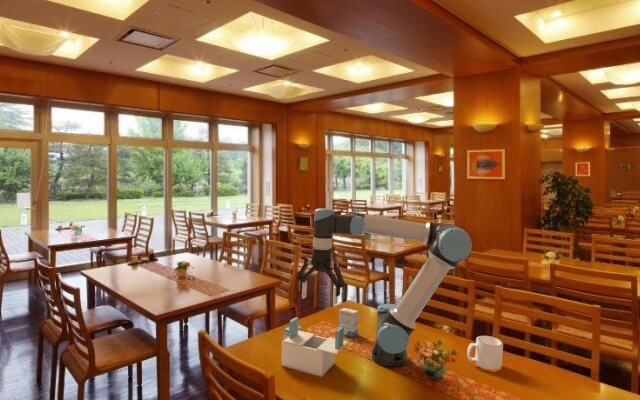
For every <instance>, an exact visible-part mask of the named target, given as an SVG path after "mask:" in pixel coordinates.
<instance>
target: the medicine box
mask: <svg viewBox="0 0 640 400" xmlns="http://www.w3.org/2000/svg"><path fill="white" fill-rule="evenodd" d="M298 330H299V331H303V326H301V325H299V324H298ZM288 337H289V326H287V327H286V328H283V340H282V342H283V341H284V340H285V339H286V338H288Z"/></svg>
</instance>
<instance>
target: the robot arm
mask: <svg viewBox="0 0 640 400" xmlns="http://www.w3.org/2000/svg"><path fill="white" fill-rule="evenodd" d="M334 211H335V210H334V209H332V208H326V207H325V208H322V207H321V208H320V207H319V208H316V209H315V210H314V217H313V233H312V234H313V235H312V236H313V237H312V247H313V248H312V252H311V253H312V254H311V257H312V258H310V257H309V256H308V257H305V258H304V261H303V264H302V266H301V268H300V269H299V272H298V274H297V276H296V280H298V281H299V282H300V286H299V287H300V290H301V299H302V300H304V299H305V298H307V294H308V293H307V290H308V280H307V279H308V278H309V277H310V276H311V275H313V274H312V273H314V272H315V271H316V272H320V273H325V274H326V275H327V276H328V277H329V279H330V280H331V282H332V284H333V285H334V286H335V287H333V297H332V298H333V300H332V301H333V302H332V305H334V306H336V305H337V304H338V300H339V297H340V295H341V290H342V288H344V287H345V286H346V282H345V280H344V277H343V274H342V272H341V269H340V265H339V264H340V263H339V261H332V252H333V251H332V247H333V234H334V235H337V234H338V235H346V236H353V237H354V236H363V234H364V233H366V234H373V235H378V236H384V237H390V238H396V239H397V238H398V239H403V240H409V241H414V242H419V243H423V244H424V245H425V246H430V247H429V248H428V250H427V253H428V258H427V259H426V261H425V262H424V263H423V265H422V266H421V268H420V270H419V271H418V273H417V274H416V276H415V277H414V279H413V280H412V282H411V283H410V285H409V286H408V288H407V290H406V291H405V293H404V294H403V295H402V297H401V299H400V300H399V301H398V303H397V304H395V303H382V304H379V305H378V306H377V309H376V339H375V342H374V344H373V347H372V349H371V359H372V361H373V362H375V364H378V365H380V366H383V367H386V368H387V367H388V368H398V367H403V366H405V365H407V363H408V359H409V358H408V356H409V355H408V351H407V348H408V345H409V343H410V337H411V335H412V333H414V331H415V329H416V328H417V326H416V320H417V318H418V317H419V316H420V314H421V312H422V311H423V309H424V308H425V306H426V305H427V304H428V302H429V300H430V299H431V298H432V296H433V295H434V293H435V292H436V290H437V289H438V287H439V285H440V284H441V283H442V281H443V279H444V278H445V276H446V275H447V273H448V272H449V271H450V270H452V269H456V268H457V266H458V265H459V263H460V262H461V261H463V260H465V259H466V258H468V256H469V255H470V253H471V251H472V247H473V245H472V244H473V243H472V239H471V237H470V235H469V234H468V233H467V232H466V231H465V230H464V229H463V228H461V227H459V226H457V225H456V224H453V223H445V222H444V223H443V222H442V223H441V222H432V221H427V222H426V223H422V222H415V221H410V220H402V219H397V218H390V217H384V216H378V215H372V214H364V213H358V212H356V211H347V212H345V214H335V212H334ZM310 264H311V265H312V267H311V268H310V269H309V270H308V271H307V272H306V273H305V271H306V270H307V269H308V267H309V265H310ZM331 266H332V268H333V270H332V268H331ZM333 271H334V272H333ZM334 273H335V274H334Z"/></svg>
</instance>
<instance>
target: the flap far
mask: <svg viewBox="0 0 640 400" xmlns="http://www.w3.org/2000/svg"><path fill="white" fill-rule="evenodd" d="M298 325H299V317H296V316H295V317H294V318H291V319H290V320H289V323H288V327H289V337H288V338H286V339H285V340H284V341H283V340H282V342H284V343H289V344H293V345H297V346H302V345H304V344H305V343H306V342H307V341H309V340H310V339H311V338H312V337H313V336H316V334H315V333H311V332H307V331H304V330H302V331H299V330H298Z"/></svg>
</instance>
